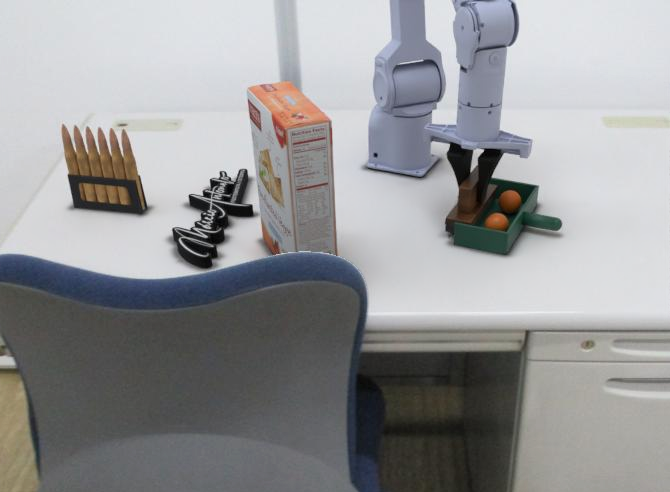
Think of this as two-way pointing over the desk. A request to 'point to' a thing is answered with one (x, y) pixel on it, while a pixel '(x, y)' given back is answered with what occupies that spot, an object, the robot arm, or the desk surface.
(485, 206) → the brush
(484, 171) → the robot arm
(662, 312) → the desk surface
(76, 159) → the ammunition clip
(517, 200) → the orange ball
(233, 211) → the nameplate
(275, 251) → the cracker box
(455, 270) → the desk surface
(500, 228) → the small orange ball
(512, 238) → the dustpan
